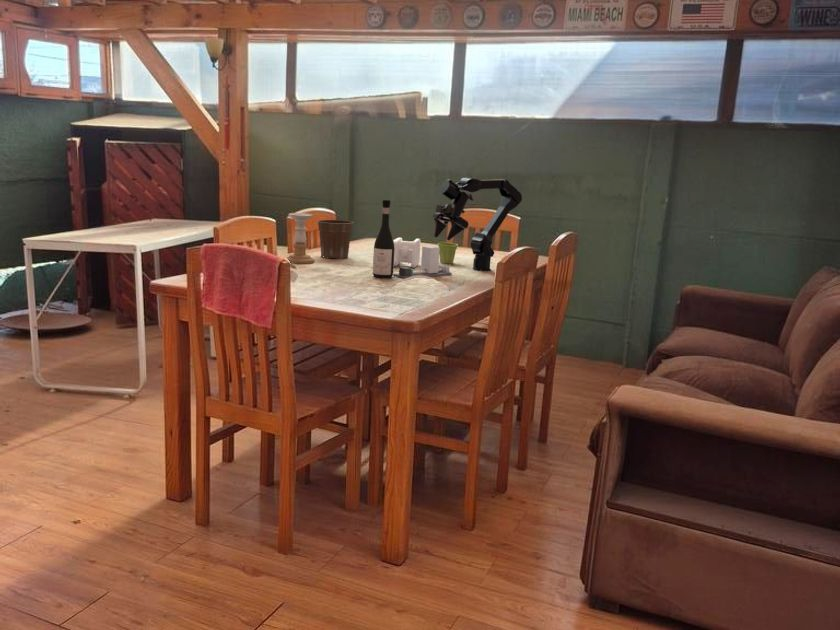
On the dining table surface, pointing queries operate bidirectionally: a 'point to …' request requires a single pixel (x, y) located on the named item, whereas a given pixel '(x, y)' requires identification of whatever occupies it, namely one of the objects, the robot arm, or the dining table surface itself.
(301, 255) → the candle holder
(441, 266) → the cord comb board
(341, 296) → the dining table surface
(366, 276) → the dining table surface
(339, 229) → the plant pot
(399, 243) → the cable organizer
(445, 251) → the plant pot
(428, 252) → the open-bottomed white box
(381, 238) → the wine bottle
